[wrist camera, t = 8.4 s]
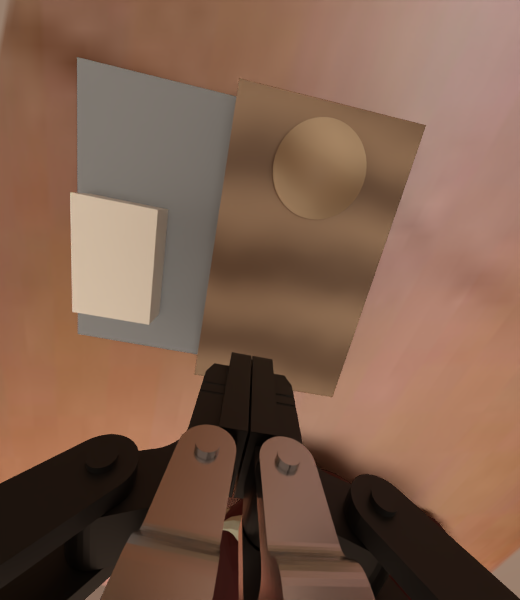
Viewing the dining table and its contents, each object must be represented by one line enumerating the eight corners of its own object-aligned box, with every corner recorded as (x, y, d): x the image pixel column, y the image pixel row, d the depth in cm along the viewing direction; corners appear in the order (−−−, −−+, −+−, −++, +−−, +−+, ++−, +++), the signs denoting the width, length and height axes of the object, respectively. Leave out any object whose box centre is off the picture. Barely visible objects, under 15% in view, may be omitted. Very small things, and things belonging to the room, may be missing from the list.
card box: (157, 209, 20) (168, 209, 22) (70, 192, 19) (90, 193, 22) (148, 324, 22) (159, 313, 25) (72, 311, 22) (90, 301, 24)
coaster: (284, 109, 17) (285, 105, 17) (375, 132, 18) (380, 130, 17) (263, 208, 19) (264, 208, 19) (346, 227, 20) (349, 228, 19)
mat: (79, 59, 19) (77, 57, 19) (237, 98, 20) (237, 96, 20) (79, 332, 26) (77, 333, 25) (198, 352, 26) (198, 354, 26)
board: (241, 99, 20) (239, 78, 17) (399, 138, 21) (425, 125, 18) (202, 353, 27) (194, 374, 23) (323, 374, 27) (332, 397, 24)
